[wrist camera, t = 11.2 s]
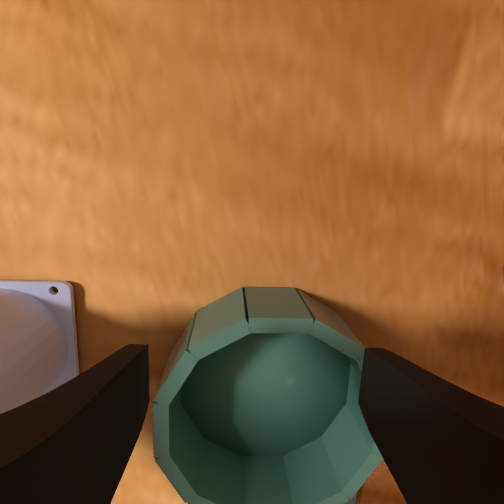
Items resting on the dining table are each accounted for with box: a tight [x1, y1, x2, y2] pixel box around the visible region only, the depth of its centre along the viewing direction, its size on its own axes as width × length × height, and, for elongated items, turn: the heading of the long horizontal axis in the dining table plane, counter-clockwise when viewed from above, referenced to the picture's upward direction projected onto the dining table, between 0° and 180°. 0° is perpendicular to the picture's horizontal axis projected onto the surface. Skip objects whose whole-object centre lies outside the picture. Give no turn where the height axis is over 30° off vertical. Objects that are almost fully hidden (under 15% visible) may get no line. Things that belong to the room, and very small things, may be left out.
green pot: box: [153, 287, 383, 504], centre depth 20 cm, size 13×13×5 cm
